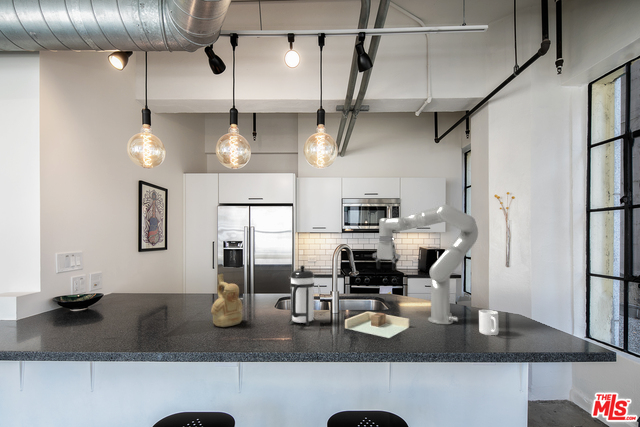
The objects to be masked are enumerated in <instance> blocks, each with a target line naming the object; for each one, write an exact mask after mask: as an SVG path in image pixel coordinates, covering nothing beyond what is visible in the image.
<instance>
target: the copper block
mask: <svg viewBox="0 0 640 427" xmlns="http://www.w3.org/2000/svg"><path fill="white" fill-rule="evenodd" d="M375 313H376V314H374V315H371V326H375V327H379V326H381V325H384V324H386V315H387V314H386V313H382V312H375Z"/></svg>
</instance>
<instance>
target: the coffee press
mask: <svg viewBox="0 0 640 427" xmlns="http://www.w3.org/2000/svg"><path fill="white" fill-rule="evenodd" d="M314 279H315V274H314V272H313V271H311V270H308V269H306V268H305V266H304V265H300V269H298V270H294V271H292V272H291V273H290V319H289V321H288V325H290V326H291V325H293V324H294V323H300V324H301V323H303V324H305V326H306V327H309V326H310V322H316V318H315V317H314V313H315V312H314V309H315V306H314V301H315V300H314V299H315V298H314V297H315V296H314V293H315V290H314V289H315V287H314V286H315V280H314Z"/></svg>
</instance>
